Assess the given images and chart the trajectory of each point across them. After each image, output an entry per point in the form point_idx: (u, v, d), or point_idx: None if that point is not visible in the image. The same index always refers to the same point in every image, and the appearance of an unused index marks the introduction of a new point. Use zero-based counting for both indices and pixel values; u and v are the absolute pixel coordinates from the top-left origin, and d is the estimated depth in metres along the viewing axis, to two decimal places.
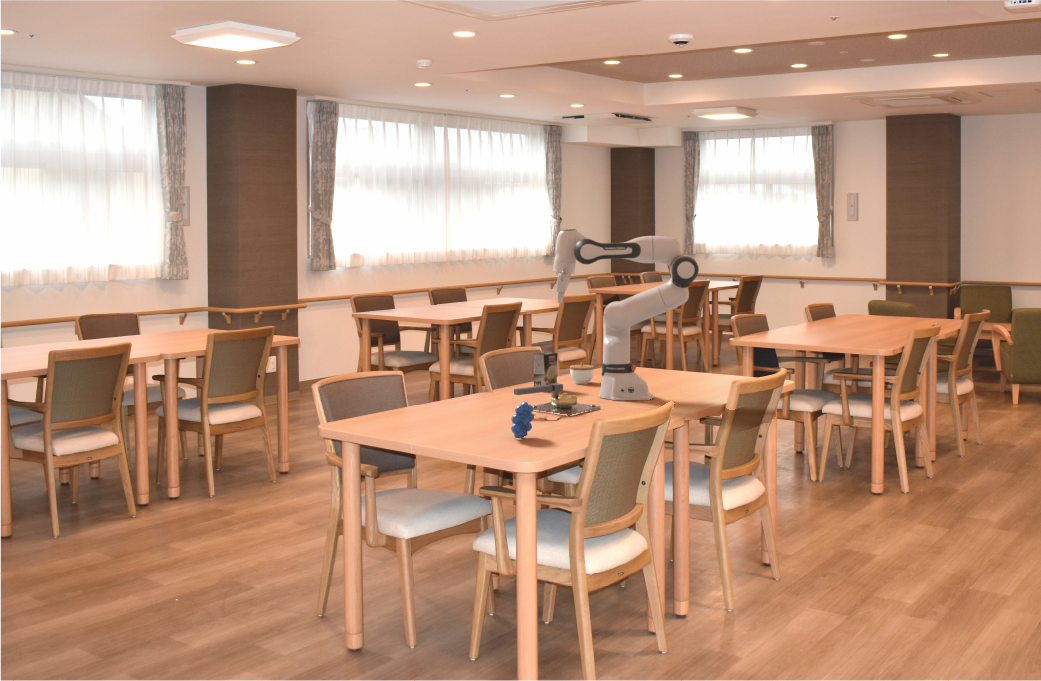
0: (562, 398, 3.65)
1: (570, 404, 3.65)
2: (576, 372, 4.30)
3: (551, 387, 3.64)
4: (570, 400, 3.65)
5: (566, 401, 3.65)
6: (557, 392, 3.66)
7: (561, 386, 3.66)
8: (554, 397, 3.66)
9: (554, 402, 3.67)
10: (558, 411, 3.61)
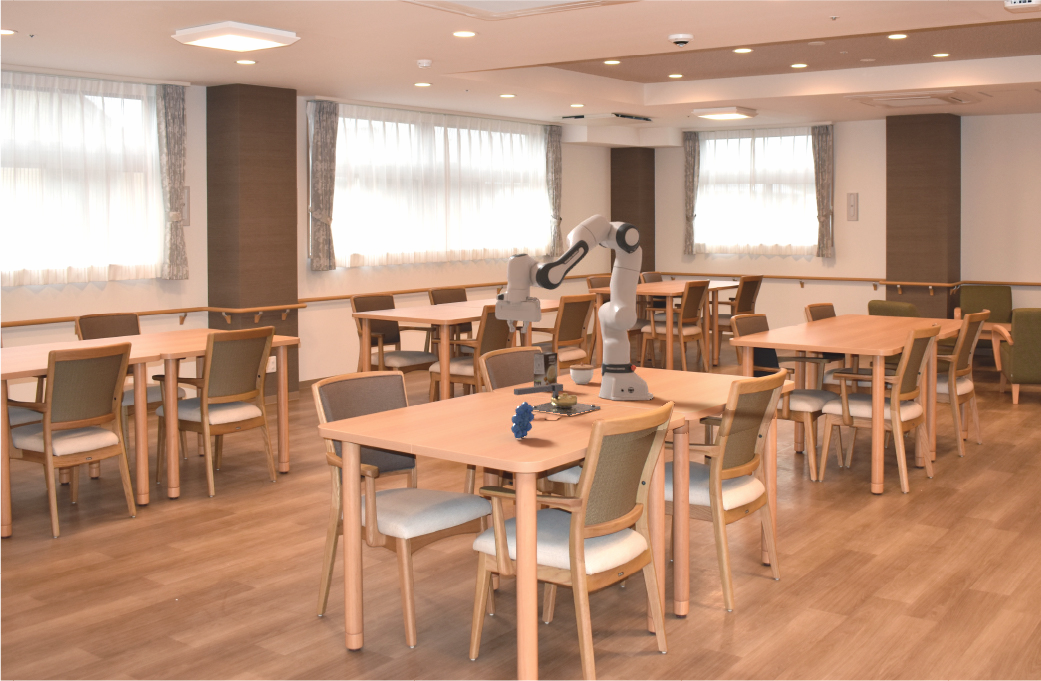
0: (562, 398, 3.65)
1: (570, 404, 3.65)
2: (576, 372, 4.30)
3: (551, 387, 3.64)
4: (570, 400, 3.65)
5: (566, 401, 3.65)
6: (557, 392, 3.66)
7: (561, 386, 3.66)
8: (554, 397, 3.66)
9: (554, 402, 3.67)
10: (558, 411, 3.61)
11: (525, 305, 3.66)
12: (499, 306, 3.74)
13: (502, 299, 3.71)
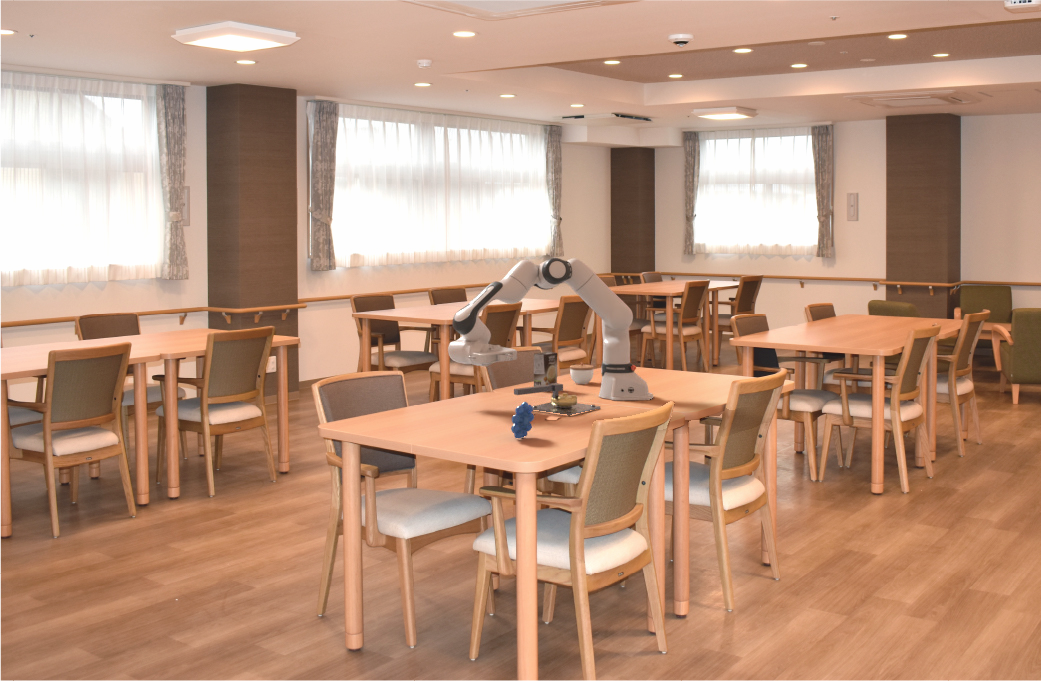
0: (562, 398, 3.65)
1: (570, 404, 3.65)
2: (576, 372, 4.30)
3: (551, 387, 3.64)
4: (570, 400, 3.65)
5: (566, 401, 3.65)
6: (557, 392, 3.66)
7: (561, 386, 3.66)
8: (554, 397, 3.66)
9: (554, 402, 3.67)
10: (558, 411, 3.61)
11: None
12: None
13: None
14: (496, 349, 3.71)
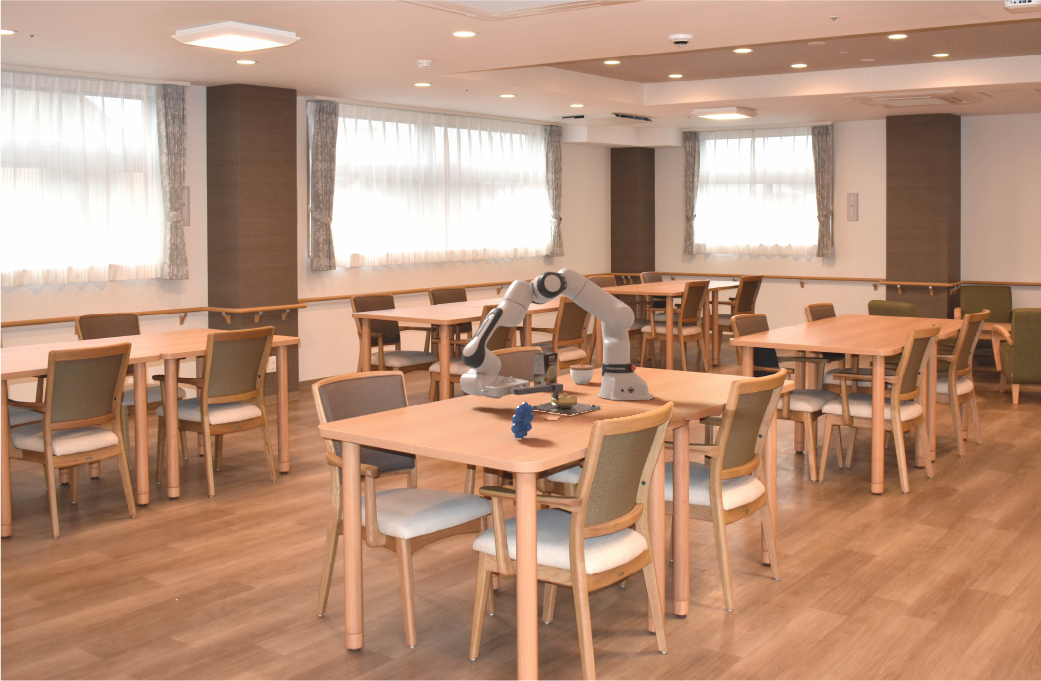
0: (562, 398, 3.65)
1: (570, 404, 3.66)
2: (576, 372, 4.30)
3: (551, 387, 3.64)
4: (570, 400, 3.65)
5: (566, 401, 3.65)
6: (557, 392, 3.66)
7: (561, 386, 3.66)
8: (554, 397, 3.66)
9: (554, 402, 3.67)
10: (558, 411, 3.61)
11: None
12: None
13: None
14: (509, 381, 3.69)
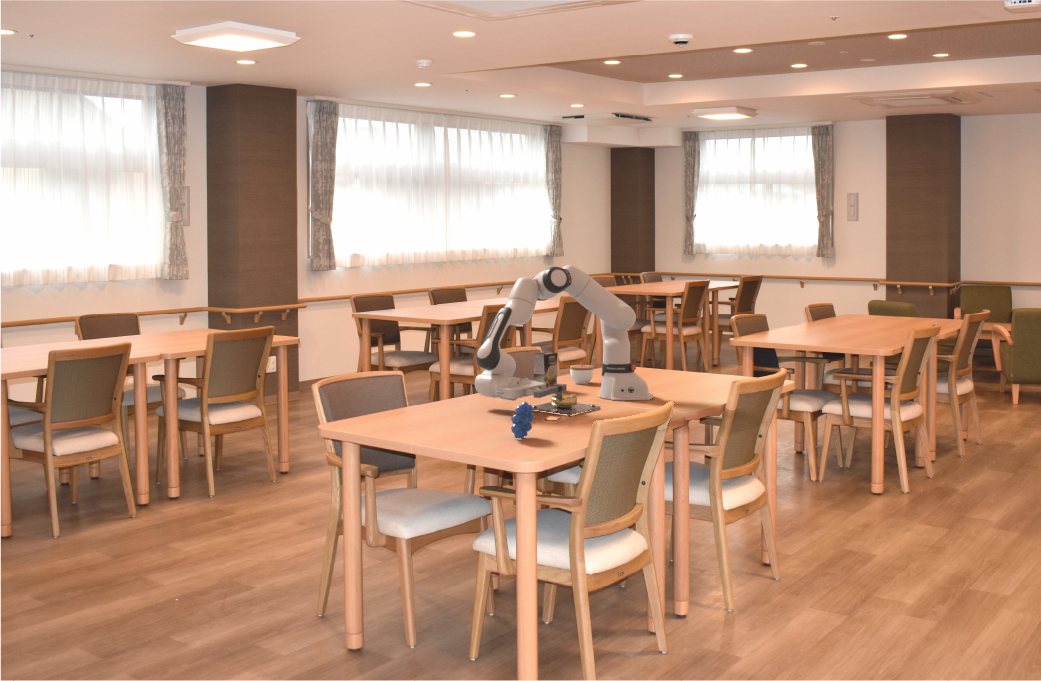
0: (567, 398, 3.65)
1: (574, 403, 3.67)
2: (576, 372, 4.30)
3: (558, 388, 3.62)
4: (574, 399, 3.67)
5: (571, 401, 3.66)
6: (561, 392, 3.66)
7: (565, 386, 3.66)
8: (559, 398, 3.65)
9: (559, 402, 3.65)
10: (558, 411, 3.61)
11: None
12: None
13: None
14: (524, 383, 3.64)
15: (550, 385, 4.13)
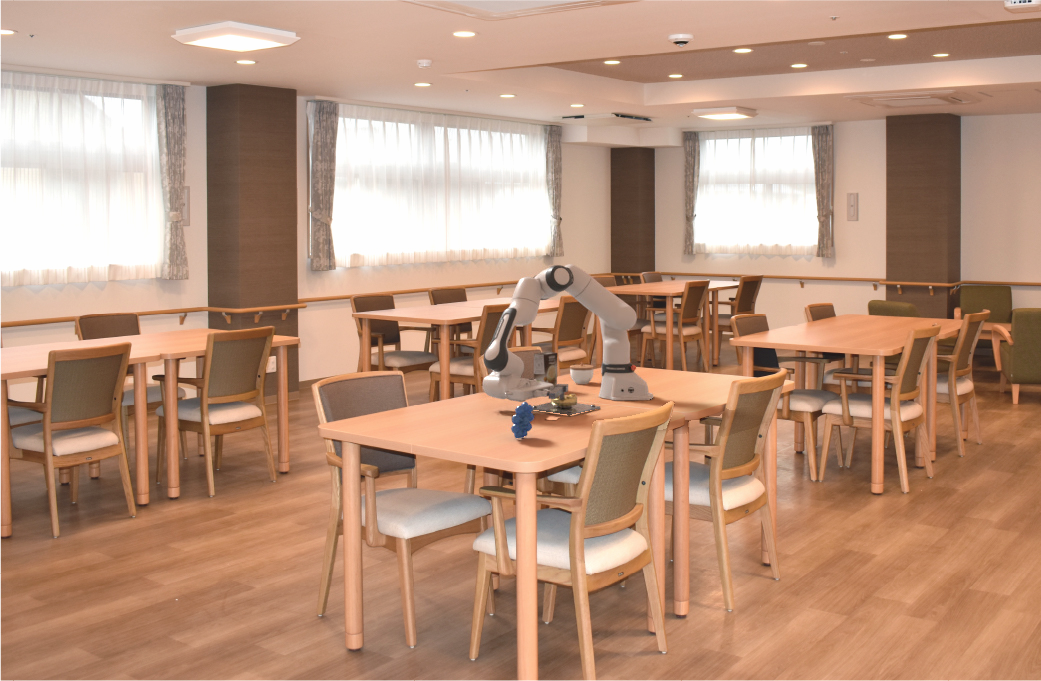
0: (570, 398, 3.66)
1: (576, 403, 3.68)
2: (576, 372, 4.30)
3: (563, 388, 3.62)
4: (576, 399, 3.68)
5: (574, 400, 3.66)
6: None
7: (567, 386, 3.66)
8: (562, 398, 3.65)
9: (562, 402, 3.65)
10: (558, 411, 3.61)
11: None
12: None
13: None
14: (533, 384, 3.62)
15: None
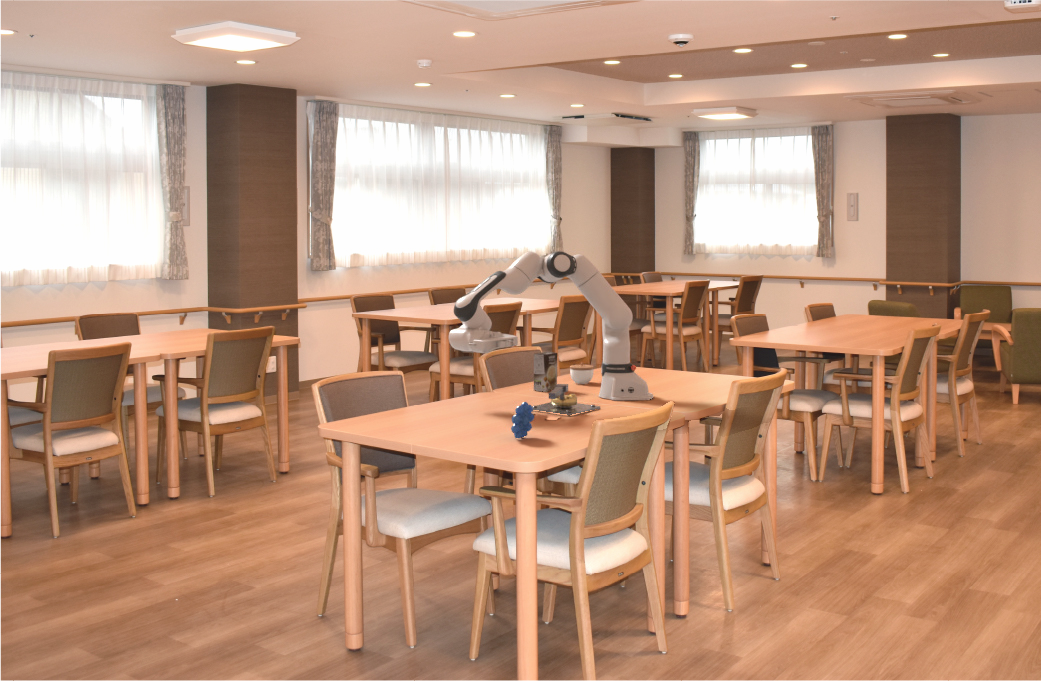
0: (570, 398, 3.66)
1: (576, 403, 3.68)
2: (576, 372, 4.30)
3: (563, 388, 3.62)
4: (576, 399, 3.68)
5: (574, 400, 3.66)
6: (564, 392, 3.65)
7: (567, 386, 3.66)
8: (562, 398, 3.65)
9: (562, 402, 3.65)
10: (558, 411, 3.61)
11: None
12: None
13: (494, 349, 3.73)
14: (496, 336, 3.71)
15: (550, 385, 4.13)
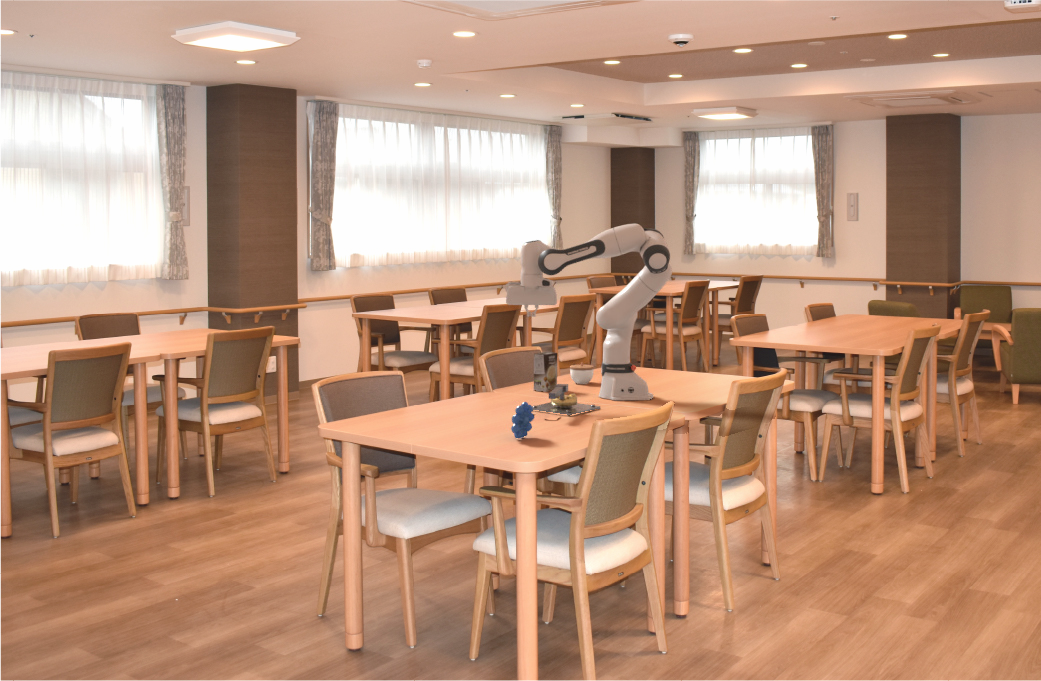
0: (570, 398, 3.66)
1: (576, 403, 3.68)
2: (576, 372, 4.30)
3: (563, 388, 3.62)
4: (576, 399, 3.68)
5: (574, 400, 3.66)
6: (564, 392, 3.65)
7: (567, 386, 3.66)
8: (562, 398, 3.65)
9: (562, 402, 3.65)
10: (558, 411, 3.61)
11: None
12: None
13: None
14: (540, 290, 3.81)
15: (550, 385, 4.13)
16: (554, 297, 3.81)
